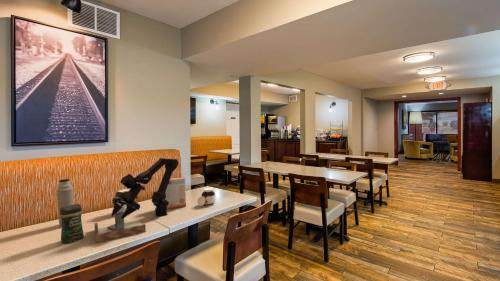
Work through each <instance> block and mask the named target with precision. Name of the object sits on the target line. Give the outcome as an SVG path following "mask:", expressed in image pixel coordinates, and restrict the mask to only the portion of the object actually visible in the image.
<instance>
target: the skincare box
mask: <svg viewBox="0 0 500 281" xmlns="http://www.w3.org/2000/svg"><path fill="white" fill-rule="evenodd" d="M129 190H130V189H128V188H125V189H124V188H123V189H120V190H117V191H116V192H124V191H126V192H127V191H129ZM117 198H118V197H117ZM121 200H122V199H121ZM125 210H126V205H123V206H122V208H121V209H120V210H119V211H118V212H117V213H120V212H125ZM117 213H116V214H117Z"/></svg>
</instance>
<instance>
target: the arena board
mask: <svg viewBox="0 0 500 281" xmlns="http://www.w3.org/2000/svg"><path fill="white" fill-rule="evenodd" d="M138 225H142V221H141V220H140V219H138V220H133V221H128V222H124V228H129V227H133V226H138ZM107 227H108V226H104V227H100V228H99V227H98V234H101V233H105V232H110V231H111V230H108V229H107ZM146 232H147V231H143V232H141V233H140V234H142V233H146ZM133 235H138V234H137V233H136V234H135V233H134V234H131V235H128V236H127V237H130V236H133ZM122 238H125V237H124V236H123V237H122ZM111 240H117V239H116V238H114V239H111ZM111 240H110V241H111ZM107 241H109V240H107ZM107 241H106V242H107ZM100 243H103V241H101V242H100ZM95 244H99V243H98V242H95Z"/></svg>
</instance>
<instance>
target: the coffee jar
mask: <svg viewBox="0 0 500 281" xmlns="http://www.w3.org/2000/svg"><path fill="white" fill-rule="evenodd" d="M82 214H83V207H82V205H81V204H80V203H74V205H70V206H65V207H61V208H60V217H61V219H62V227H61V231H60V242H61V243H63V244H70V243H74V242H76V241H79V240H82V239H83V238H84V237H85V235H84V229H83V228H84V227H83V222H82Z"/></svg>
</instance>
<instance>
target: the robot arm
mask: <svg viewBox="0 0 500 281" xmlns="http://www.w3.org/2000/svg"><path fill="white" fill-rule="evenodd" d="M178 166H179V160H178V159H177V158H165V157H160V158H159V159H158V160H157V161H156V162H154V164H152V165H151V166H150V167H149V168H148V169H146V170H144V171H143V172H140V173H139V174H137V175H136V176H133V175H132V174H131V173H127V175H125V176H123V177H122V178H121V179H120V184H121V185H123V187H125V188H126V189H130V190H129V191H127V192H126V191H124V192H117V191H115V195H114V198H112V200H111V201H112V204H113V207H112V212H111V214H110V215H111V217H115V214H117V212H118V211H119V210H120V209H121V208H122V206H123V205H126V210H125V212H124V213H123V215H122V217H121V218H122V219H123V218H124V219H125V218H126V217H128V216H129V215H131V214H132V213H134V212H137V211H140V208H141V204H139V203H138V202H137V201H136V200H137V199H139V195H140V193H141V192H142V191H146V188H145V185H148V184H149V183H150V182H151V180H152V179H153V176H154V175H155V174H156V173H157V172H159V171H160V169H161V168H163V167H164V169H165V170H164V174H163V176H162V178H161V181H160V183H159V186H158V189H157V190H156V191H153V193H152V196H151V198H150V199H151V201H150V202H152V205H153V206H155V208H154V214H155V216H156V217H158V218H159V217H164V216H167V215H168V212H167V210H168V209H167V207H166V206H168V204H169V202H168V201H167V200H166V193H165V192H166V189H167V186H168V183H169V181H170V179H171V177H172V174H173V172H174V171H175V170H176V169H177V168H178ZM117 197H118V198H117ZM121 199H122V200H121Z"/></svg>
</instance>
